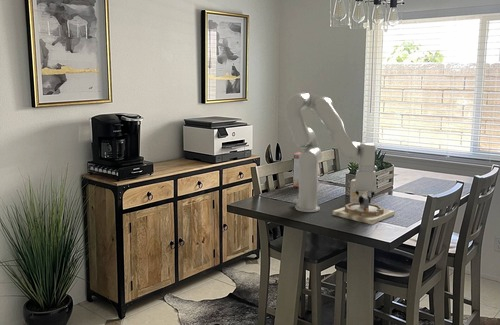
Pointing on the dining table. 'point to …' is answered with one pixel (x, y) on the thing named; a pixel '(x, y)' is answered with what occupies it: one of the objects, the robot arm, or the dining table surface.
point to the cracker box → (296, 170)
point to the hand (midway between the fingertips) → (364, 204)
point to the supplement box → (353, 195)
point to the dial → (364, 205)
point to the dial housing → (364, 213)
